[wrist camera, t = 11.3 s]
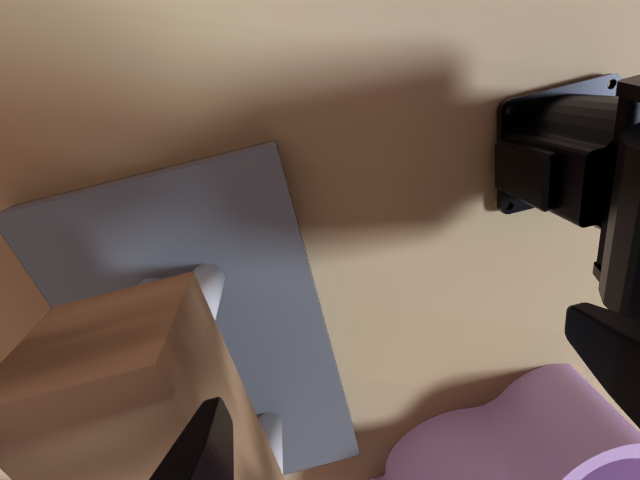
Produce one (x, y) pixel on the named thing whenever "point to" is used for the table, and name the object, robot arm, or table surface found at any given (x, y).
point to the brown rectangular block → (122, 387)
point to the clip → (524, 436)
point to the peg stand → (208, 279)
